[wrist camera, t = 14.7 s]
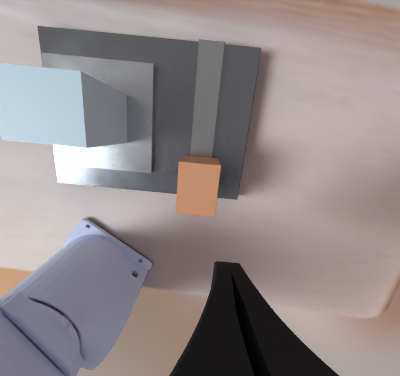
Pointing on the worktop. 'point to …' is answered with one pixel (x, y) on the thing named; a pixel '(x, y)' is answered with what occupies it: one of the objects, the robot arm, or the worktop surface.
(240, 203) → the worktop surface
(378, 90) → the worktop surface
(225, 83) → the base
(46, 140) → the housing block
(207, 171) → the lever
